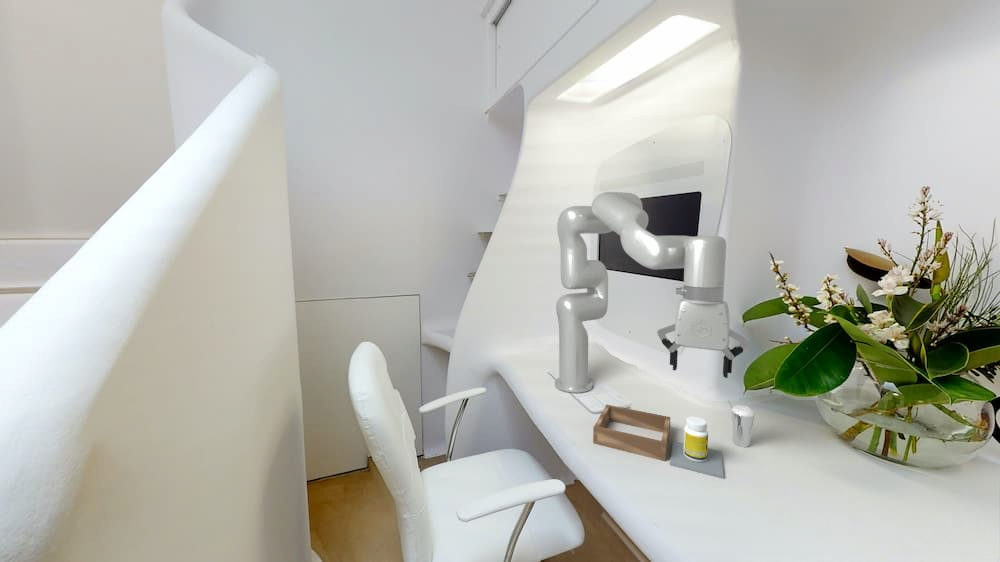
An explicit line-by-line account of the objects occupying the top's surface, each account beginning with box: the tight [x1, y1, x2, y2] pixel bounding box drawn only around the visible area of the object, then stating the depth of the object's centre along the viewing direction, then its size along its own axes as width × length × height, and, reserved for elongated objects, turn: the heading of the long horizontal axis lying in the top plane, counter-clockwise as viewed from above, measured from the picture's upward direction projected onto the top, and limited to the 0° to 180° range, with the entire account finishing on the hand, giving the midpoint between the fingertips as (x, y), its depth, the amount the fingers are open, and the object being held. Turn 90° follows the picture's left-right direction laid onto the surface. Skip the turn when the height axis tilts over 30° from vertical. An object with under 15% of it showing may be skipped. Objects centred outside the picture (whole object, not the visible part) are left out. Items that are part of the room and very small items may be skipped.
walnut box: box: [592, 404, 671, 462], centre depth 90 cm, size 14×16×4 cm
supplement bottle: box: [683, 416, 709, 462], centre depth 81 cm, size 5×5×8 cm
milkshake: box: [727, 399, 755, 448], centre depth 87 cm, size 4×5×10 cm
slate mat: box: [669, 440, 725, 479], centre depth 81 cm, size 10×10×1 cm
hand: (699, 372), depth 79 cm, fingers open, 9 cm apart
